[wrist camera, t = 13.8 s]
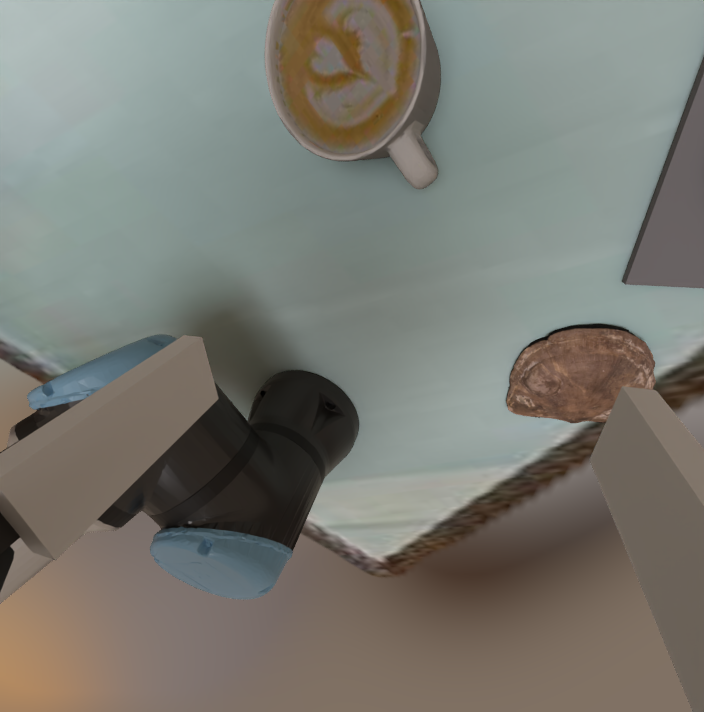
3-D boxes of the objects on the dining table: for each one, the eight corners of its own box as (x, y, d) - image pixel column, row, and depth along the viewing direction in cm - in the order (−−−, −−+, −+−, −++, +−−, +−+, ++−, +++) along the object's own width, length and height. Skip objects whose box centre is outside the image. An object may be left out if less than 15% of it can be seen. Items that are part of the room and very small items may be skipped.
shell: (519, 317, 35) (523, 332, 32) (672, 325, 31) (694, 343, 28) (502, 408, 40) (504, 428, 37) (630, 424, 37) (644, 447, 34)
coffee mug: (301, 62, 29) (234, 28, 21) (410, -32, 25) (378, -124, 16) (371, 215, 34) (338, 236, 25) (474, 159, 29) (474, 163, 21)
